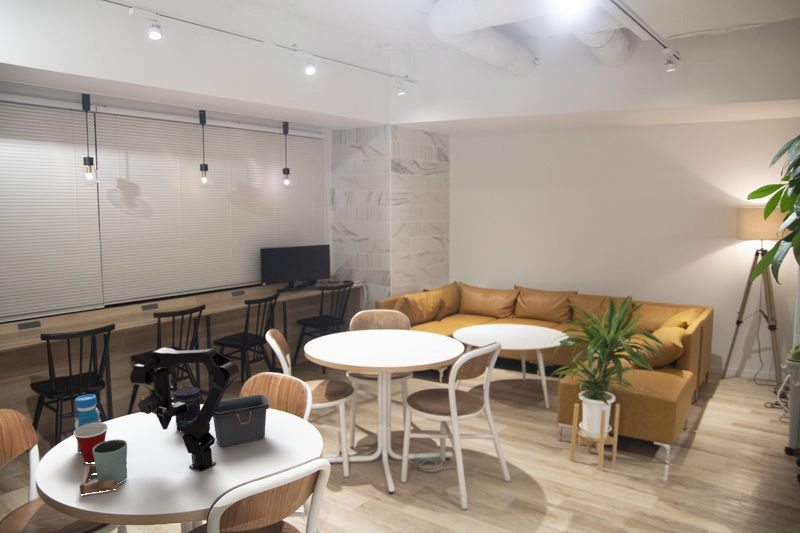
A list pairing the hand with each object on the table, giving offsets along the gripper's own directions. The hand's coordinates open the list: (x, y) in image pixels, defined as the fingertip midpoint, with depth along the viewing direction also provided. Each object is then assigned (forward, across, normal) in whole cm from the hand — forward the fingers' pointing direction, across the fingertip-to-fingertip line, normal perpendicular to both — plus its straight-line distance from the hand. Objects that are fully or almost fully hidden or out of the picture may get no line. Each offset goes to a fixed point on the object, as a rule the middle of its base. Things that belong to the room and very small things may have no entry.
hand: (165, 429), depth 205 cm
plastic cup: (+12, -24, -12) cm, 29 cm away
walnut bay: (+12, -7, -20) cm, 24 cm away
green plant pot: (+12, -4, -18) cm, 22 cm away
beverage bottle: (+12, -34, -7) cm, 37 cm away
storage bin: (+12, +9, +26) cm, 30 cm away
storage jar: (+12, -19, +25) cm, 34 cm away
